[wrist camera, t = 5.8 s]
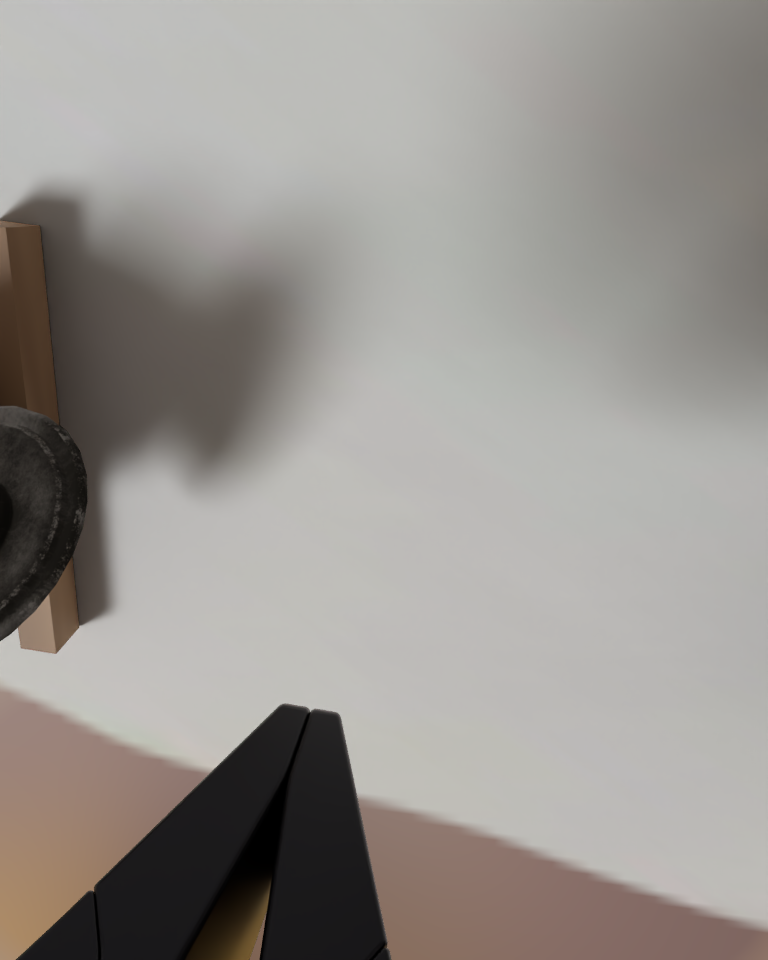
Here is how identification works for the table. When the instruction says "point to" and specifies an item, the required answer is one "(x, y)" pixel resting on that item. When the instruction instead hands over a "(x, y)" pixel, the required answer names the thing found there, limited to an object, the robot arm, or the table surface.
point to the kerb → (32, 397)
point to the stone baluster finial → (36, 510)
